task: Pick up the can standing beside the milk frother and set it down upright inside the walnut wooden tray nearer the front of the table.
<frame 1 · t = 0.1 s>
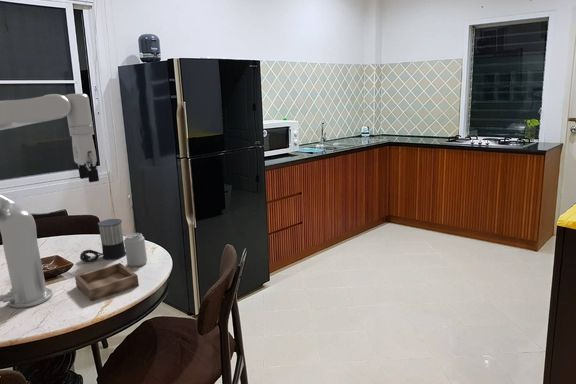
hand: (89, 179, 155), 37 cm above the table, tool pointing down, fingers open, 9 cm apart
can: (137, 264, 174), on the table
milk frother: (104, 258, 182), on the table
tray: (107, 286, 155), on the table
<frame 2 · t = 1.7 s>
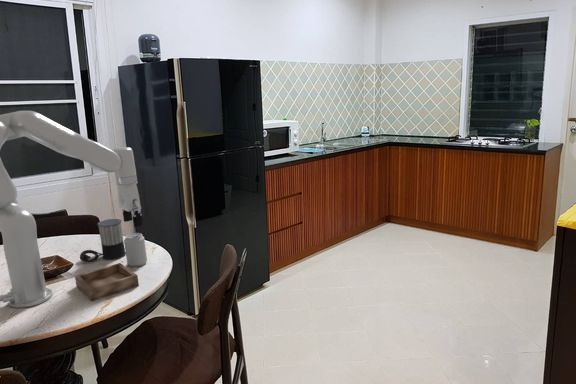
hand: (133, 223, 171), 17 cm above the table, tool pointing down, fingers open, 9 cm apart
nothing on the table moved.
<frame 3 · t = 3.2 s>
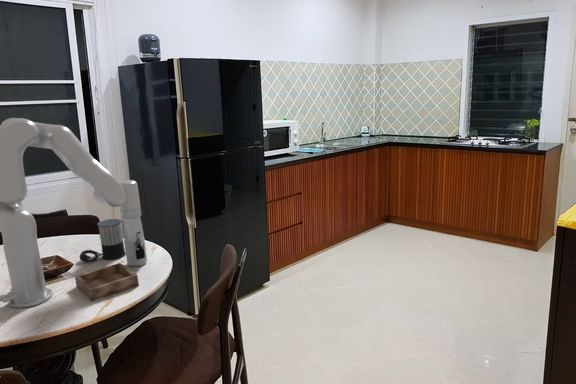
hand: (136, 255, 173), 3 cm above the table, tool pointing down, fingers closed on can, 7 cm apart
can: (137, 264, 174), on the table, touching gripper
everything else where it was.
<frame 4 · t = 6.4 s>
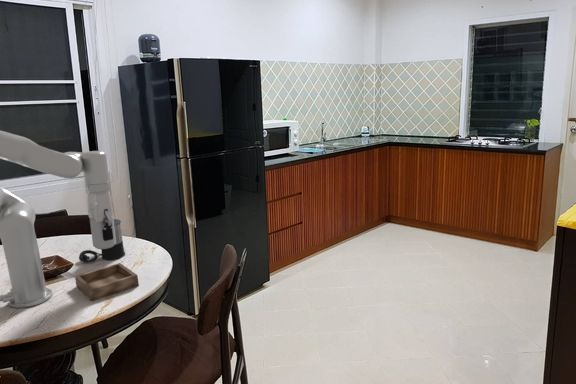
hand: (103, 236, 154), 17 cm above the table, tool pointing down, fingers closed on can, 7 cm apart
can: (105, 246, 155), point 14 cm above the table, touching gripper
everything else where it was.
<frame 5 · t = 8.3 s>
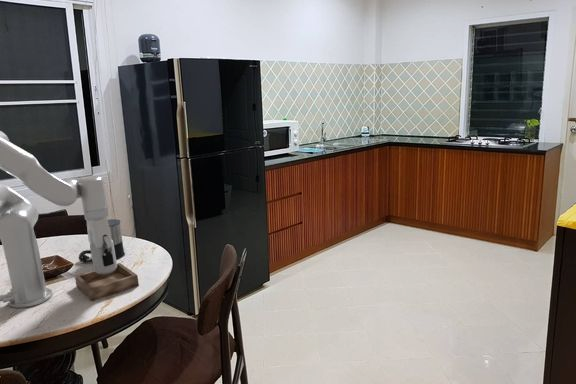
hand: (104, 261, 153), 9 cm above the table, tool pointing down, fingers closed on can, 7 cm apart
can: (106, 271, 154), point 6 cm above the table, touching gripper
everything else where it was.
when the fingers open (6 cm above the table, at t = 9.6 s): can drops 1 cm, resting on tray.
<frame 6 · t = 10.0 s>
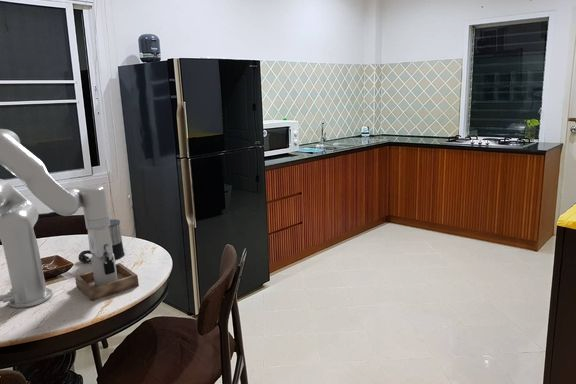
hand: (104, 269, 154), 6 cm above the table, tool pointing down, fingers open, 9 cm apart
can: (106, 284, 155), point 1 cm above the table, touching tray
everything else where it was.
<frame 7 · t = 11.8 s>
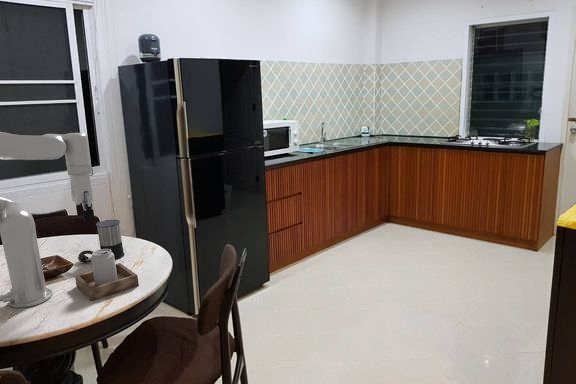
hand: (85, 218, 154), 24 cm above the table, tool pointing down, fingers open, 9 cm apart
nothing on the table moved.
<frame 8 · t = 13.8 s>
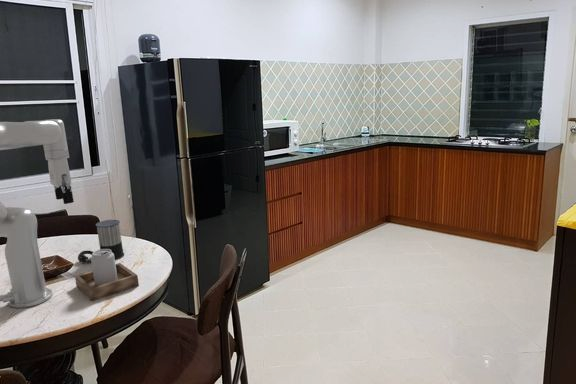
hand: (64, 200, 162), 28 cm above the table, tool pointing down, fingers open, 9 cm apart
at the end: can inside the target area on the tray (0.2 cm from its centre), point 0.8 cm above the tray's base; can tilted 0°; the gripper is holding nothing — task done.
